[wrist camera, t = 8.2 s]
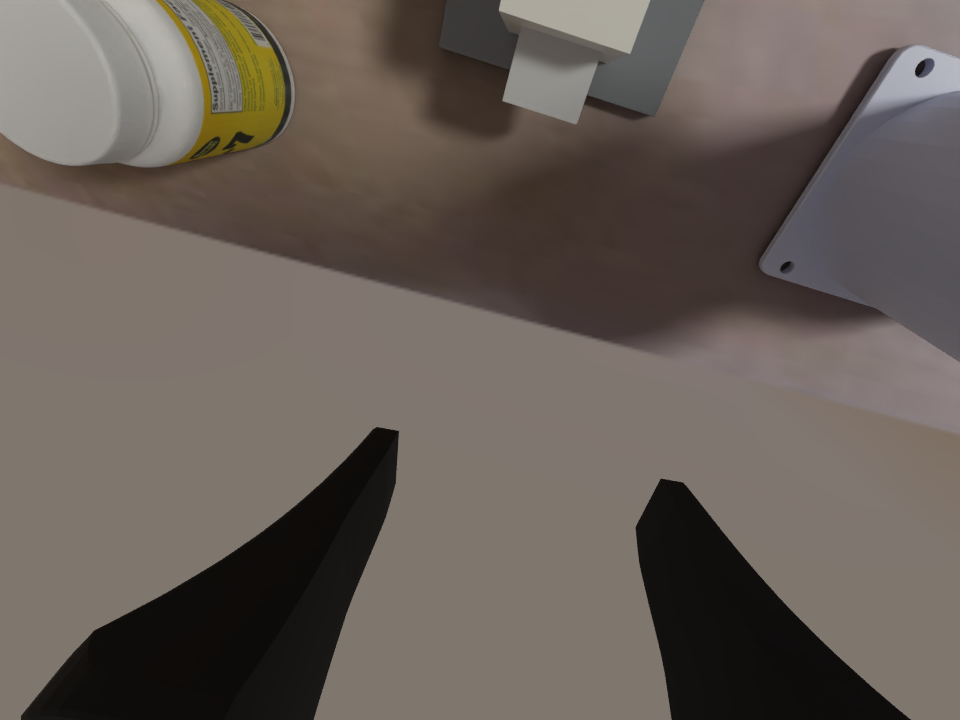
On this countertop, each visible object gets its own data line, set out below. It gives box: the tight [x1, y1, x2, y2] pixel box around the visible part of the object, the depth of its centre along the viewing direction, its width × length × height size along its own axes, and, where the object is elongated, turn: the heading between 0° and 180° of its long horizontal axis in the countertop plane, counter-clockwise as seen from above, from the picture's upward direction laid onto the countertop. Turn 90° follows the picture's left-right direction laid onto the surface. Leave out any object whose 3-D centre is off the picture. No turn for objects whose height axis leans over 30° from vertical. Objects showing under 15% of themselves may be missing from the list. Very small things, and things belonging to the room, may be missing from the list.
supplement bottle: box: [0, 0, 295, 168], centre depth 13 cm, size 5×5×8 cm
